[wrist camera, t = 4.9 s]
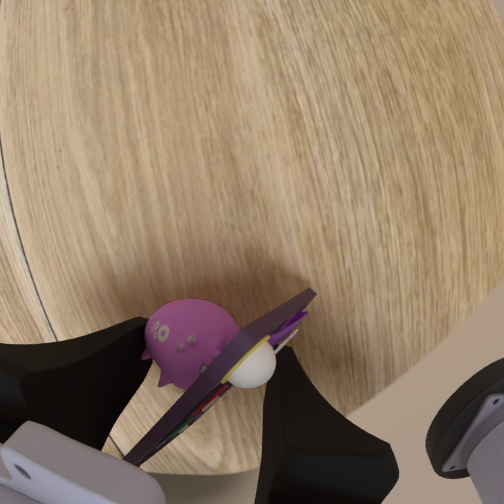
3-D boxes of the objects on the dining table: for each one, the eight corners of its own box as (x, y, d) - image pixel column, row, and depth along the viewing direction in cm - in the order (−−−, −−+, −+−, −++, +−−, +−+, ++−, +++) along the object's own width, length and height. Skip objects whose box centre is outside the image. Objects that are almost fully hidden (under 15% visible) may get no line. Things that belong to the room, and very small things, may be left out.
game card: (119, 505, 8) (282, 368, 6) (34, 398, 10) (119, 203, 7) (206, 431, 14) (332, 305, 12) (138, 358, 16) (235, 220, 14)
